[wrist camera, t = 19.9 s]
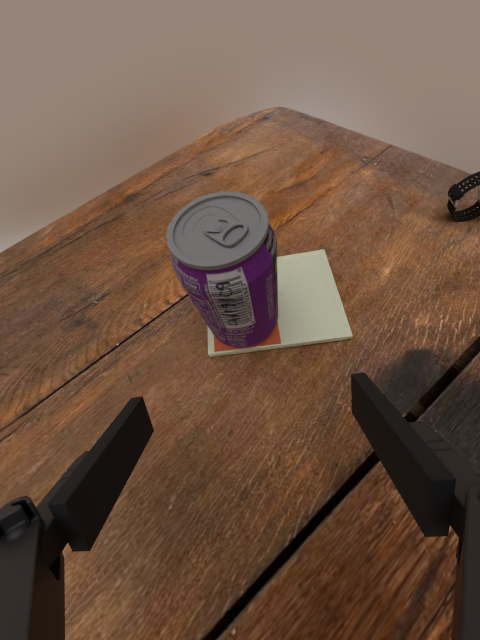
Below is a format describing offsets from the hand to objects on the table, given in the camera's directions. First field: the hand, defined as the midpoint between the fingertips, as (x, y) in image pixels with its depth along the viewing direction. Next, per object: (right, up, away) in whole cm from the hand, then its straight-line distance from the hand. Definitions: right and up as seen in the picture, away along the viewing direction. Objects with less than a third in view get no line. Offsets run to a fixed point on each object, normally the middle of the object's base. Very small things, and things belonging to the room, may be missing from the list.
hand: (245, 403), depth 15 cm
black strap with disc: (+25, +17, +13) cm, 33 cm away
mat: (+3, +7, +11) cm, 14 cm away
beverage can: (0, +5, +10) cm, 11 cm away
